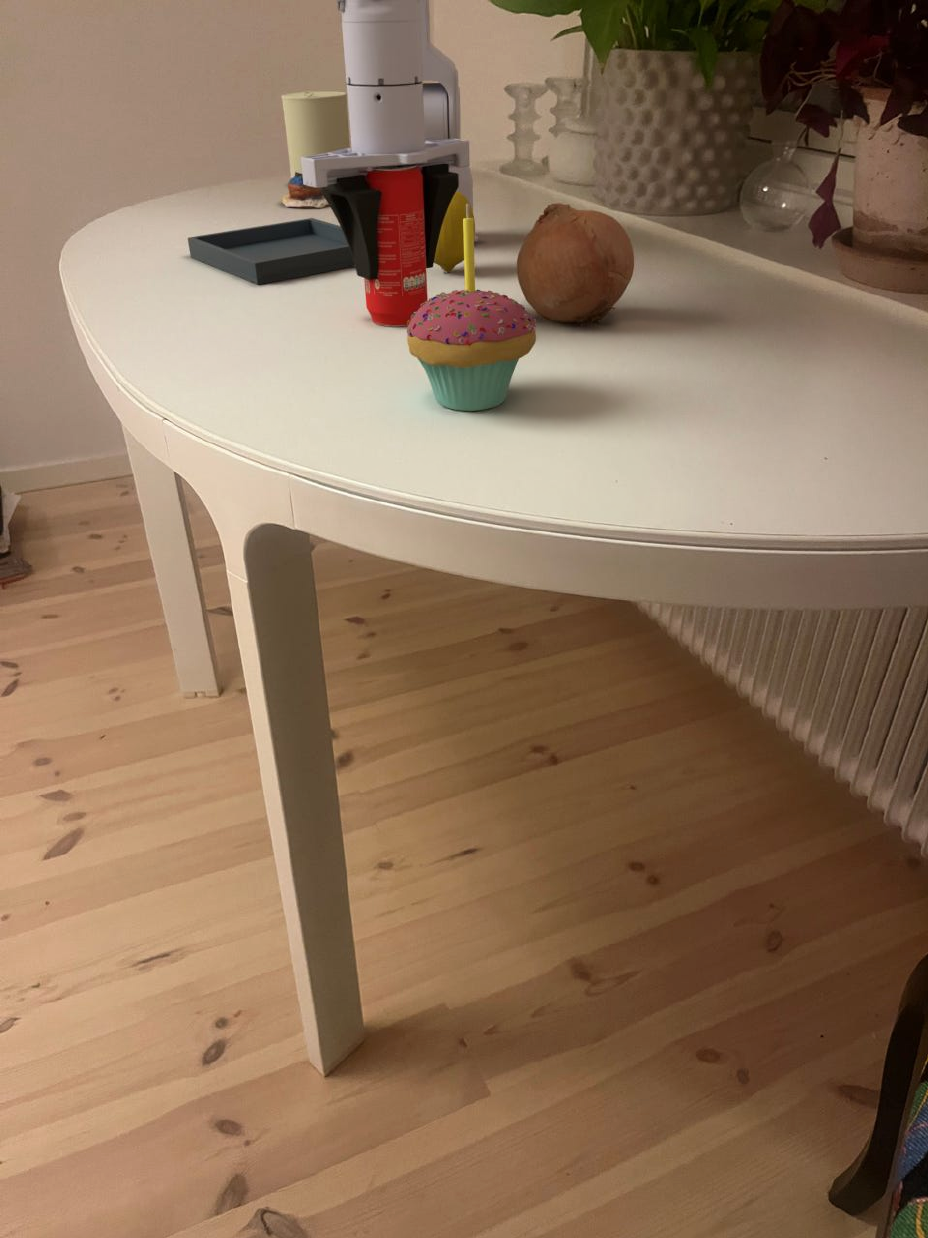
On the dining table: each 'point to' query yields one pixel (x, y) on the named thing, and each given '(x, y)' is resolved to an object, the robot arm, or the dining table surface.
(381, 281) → the beverage can
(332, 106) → the cream cylindrical container
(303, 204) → the dessert
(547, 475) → the dining table surface
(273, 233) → the tray
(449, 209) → the lemon
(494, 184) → the dining table surface
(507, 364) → the cupcake
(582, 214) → the onion
